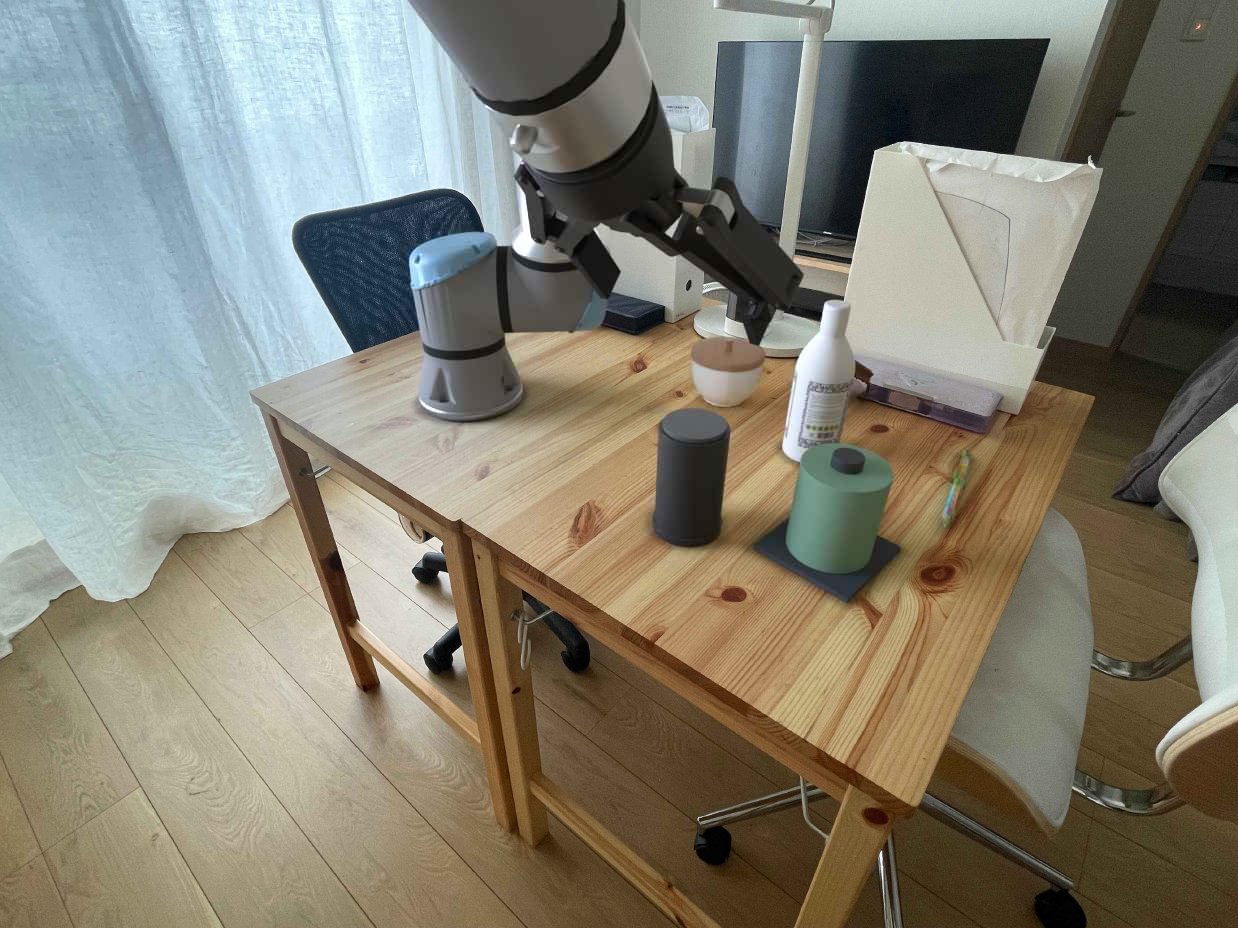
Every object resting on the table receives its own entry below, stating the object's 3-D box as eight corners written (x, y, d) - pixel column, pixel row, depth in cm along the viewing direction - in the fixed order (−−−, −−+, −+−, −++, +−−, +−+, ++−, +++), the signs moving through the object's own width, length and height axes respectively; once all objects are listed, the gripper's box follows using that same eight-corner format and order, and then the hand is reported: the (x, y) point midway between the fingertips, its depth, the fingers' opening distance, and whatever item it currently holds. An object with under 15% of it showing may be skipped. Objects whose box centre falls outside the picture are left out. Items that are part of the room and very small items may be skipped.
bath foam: (847, 459, 81) (883, 308, 70) (805, 472, 79) (835, 317, 68) (811, 434, 87) (840, 291, 76) (770, 446, 84) (794, 299, 73)
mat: (752, 548, 67) (752, 544, 66) (809, 505, 73) (810, 501, 73) (846, 603, 60) (848, 599, 60) (900, 551, 66) (901, 546, 66)
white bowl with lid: (755, 384, 100) (763, 327, 95) (762, 416, 91) (770, 355, 86) (688, 380, 101) (692, 324, 96) (687, 412, 92) (691, 352, 87)
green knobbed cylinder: (769, 532, 68) (784, 443, 62) (833, 512, 71) (853, 426, 65) (820, 583, 61) (843, 489, 55) (889, 560, 64) (917, 468, 58)
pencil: (949, 534, 69) (972, 458, 81) (952, 526, 68) (975, 451, 81) (937, 530, 69) (961, 455, 82) (939, 522, 69) (964, 448, 81)
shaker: (641, 514, 72) (644, 413, 64) (699, 498, 74) (708, 399, 67) (672, 555, 66) (679, 449, 59) (734, 536, 68) (748, 432, 61)
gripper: (372, 140, 36) (538, 306, 55) (793, 236, 26) (814, 396, 46) (429, 26, 36) (574, 231, 56) (863, 79, 27) (854, 304, 46)
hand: (682, 306), depth 51 cm, fingers open, 13 cm apart
